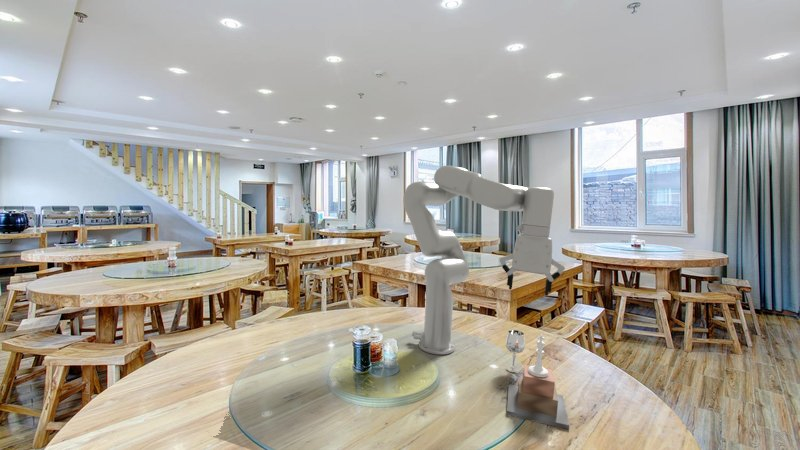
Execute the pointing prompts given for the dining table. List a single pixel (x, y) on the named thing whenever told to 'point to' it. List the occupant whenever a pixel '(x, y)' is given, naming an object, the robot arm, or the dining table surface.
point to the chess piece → (539, 361)
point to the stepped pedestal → (537, 400)
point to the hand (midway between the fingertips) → (528, 291)
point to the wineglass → (515, 343)
